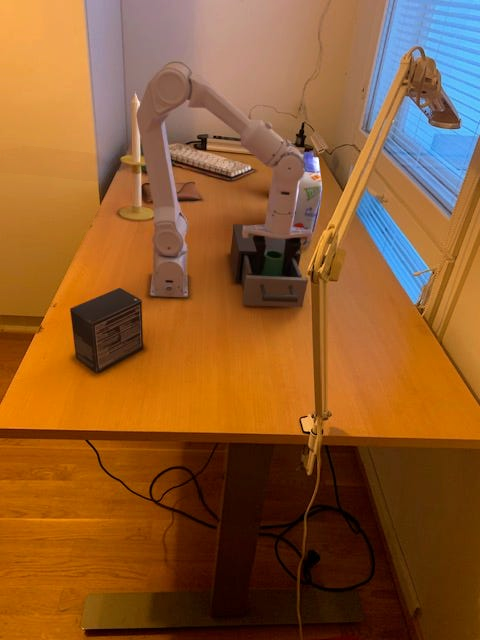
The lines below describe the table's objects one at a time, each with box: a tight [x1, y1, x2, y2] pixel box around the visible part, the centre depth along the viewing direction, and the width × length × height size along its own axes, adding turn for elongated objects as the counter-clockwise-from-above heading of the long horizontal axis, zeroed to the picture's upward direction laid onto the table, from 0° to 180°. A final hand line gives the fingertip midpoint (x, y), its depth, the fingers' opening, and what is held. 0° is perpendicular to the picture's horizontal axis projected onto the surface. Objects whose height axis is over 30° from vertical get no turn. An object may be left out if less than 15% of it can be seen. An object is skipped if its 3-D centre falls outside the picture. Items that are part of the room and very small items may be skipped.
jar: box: [260, 250, 285, 277], centre depth 106 cm, size 5×5×5 cm
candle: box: [118, 90, 154, 221], centre depth 132 cm, size 10×10×32 cm
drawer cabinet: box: [229, 223, 302, 285], centre depth 118 cm, size 15×14×8 cm
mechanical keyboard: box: [168, 142, 257, 181], centre depth 186 cm, size 38×19×3 cm, turn 61°
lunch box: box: [293, 151, 323, 250], centre depth 134 cm, size 28×10×22 cm, turn 176°
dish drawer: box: [240, 254, 308, 308], centre depth 106 cm, size 19×13×7 cm
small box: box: [69, 287, 145, 374], centre depth 85 cm, size 11×6×10 cm, turn 141°
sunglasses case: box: [141, 181, 202, 203], centre depth 154 cm, size 18×7×7 cm
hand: (272, 268), depth 107 cm, fingers closed on jar, 5 cm apart
